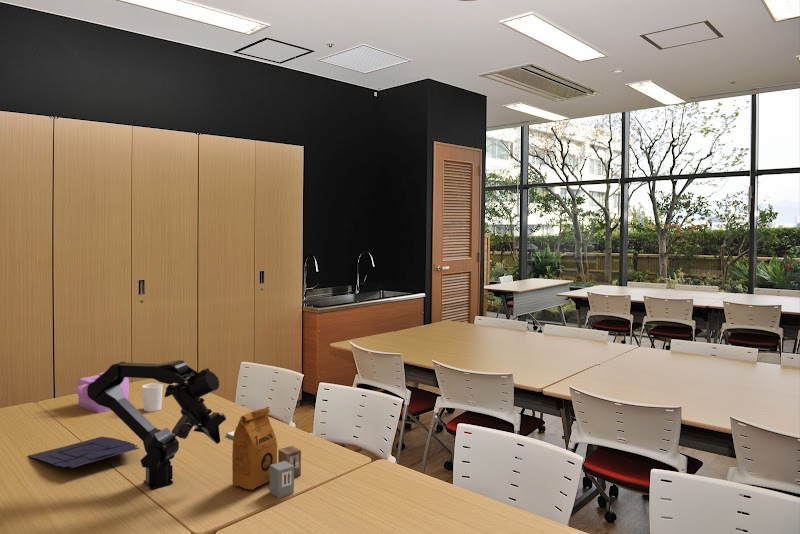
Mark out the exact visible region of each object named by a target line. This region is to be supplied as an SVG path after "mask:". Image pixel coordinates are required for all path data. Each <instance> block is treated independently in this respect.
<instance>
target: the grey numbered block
mask: <svg viewBox="0 0 800 534" xmlns="http://www.w3.org/2000/svg"><path fill="white" fill-rule="evenodd" d="M269 493H270V494H272V495H273V496H275V497H276V498H278V499H281V498H283V497H286V496H289V495H293V494H294V493H295V478H294V466H293V465H291V464H290V463H288V462H286V461H282V462H279V463H278V462H277V463H275V464H272V465H270V481H269Z"/></svg>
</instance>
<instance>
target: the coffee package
mask: <svg viewBox="0 0 800 534" xmlns="http://www.w3.org/2000/svg"><path fill="white" fill-rule="evenodd" d="M269 413H270V408H269V407H268V406H266V407H264V408H259V409H257V410H253V411H250V412H247V413H246V414H244V415H241V416H240V419H239V421H238V423H237V426H236V427H235V430H234V431H235V432H234V437H233V438H232V455H231V456H232V457H231V459H232V464H231V465H232V467H231V469H232V477H231V478H232V486H234V487H241V488H244V489H245V490H250V491H251V490H254V489H255V488H258V487H260V486H261V485H266V484H268V483H270V465H272V464H275V463H278V441H277V436H276V434H275V431H274V428H273V426H272V424H271V422H270V418H269V416H268V414H269Z"/></svg>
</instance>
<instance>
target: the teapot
mask: <svg viewBox="0 0 800 534" xmlns="http://www.w3.org/2000/svg"><path fill="white" fill-rule="evenodd" d="M105 372H106V371H105ZM105 372H104V371H103V372H100V373H98V374H95V375H92V376H85V377H81V378H78V380H77V383H78V384H77V385H78V386H77V387H76V388H75V393H76V395H77V396H78V407H80V408H83V409H86V410H89V411H91V412H95V413H97V414H102V413H104V412H105V413H106V412H108V411H112V410H111V409H110V408H107V407H104V406H101V405H98V404H97V403H95V402H94V401H93V400H91V399H90V398H89V397H88V395H87V393H88V392H87V389H88V386H89V384H90V383H92V382H94V381H95V380H96V379H97V378H98V377H100V376H101V375H102V374H103V373H105ZM129 379H130V377H125V378H124V380H123V382H122V383H121V384H120V386H121V387H122V391H123V395H124V397H125V398H126V399H127V400H128V401H129V402H130V398H129V397H130V393H129V390H130V389H129V388H130V387H129V385H130V381H129Z"/></svg>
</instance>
